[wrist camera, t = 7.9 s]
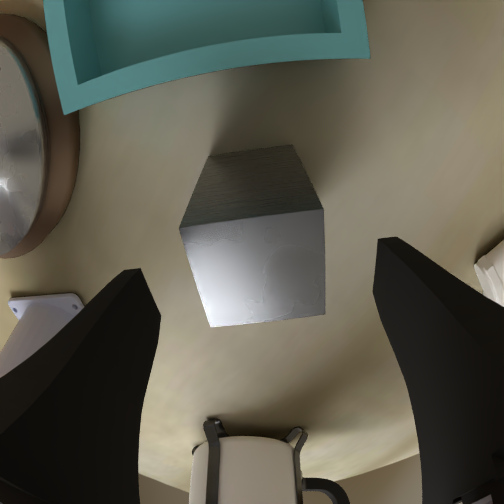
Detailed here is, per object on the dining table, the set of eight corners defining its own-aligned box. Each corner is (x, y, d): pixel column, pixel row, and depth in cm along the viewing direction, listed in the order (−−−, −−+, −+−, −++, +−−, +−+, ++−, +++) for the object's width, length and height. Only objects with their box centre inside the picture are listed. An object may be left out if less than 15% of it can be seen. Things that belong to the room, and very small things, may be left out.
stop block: (299, 218, 16) (325, 314, 11) (223, 228, 17) (210, 327, 11) (292, 144, 14) (323, 208, 8) (208, 156, 14) (178, 228, 9)
